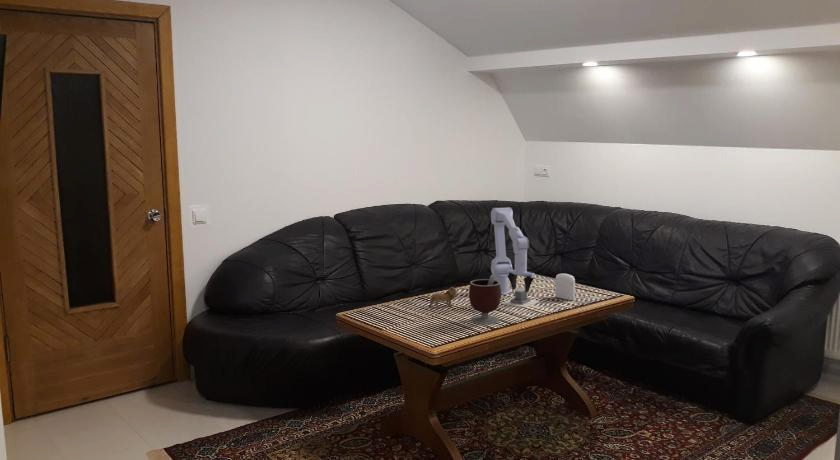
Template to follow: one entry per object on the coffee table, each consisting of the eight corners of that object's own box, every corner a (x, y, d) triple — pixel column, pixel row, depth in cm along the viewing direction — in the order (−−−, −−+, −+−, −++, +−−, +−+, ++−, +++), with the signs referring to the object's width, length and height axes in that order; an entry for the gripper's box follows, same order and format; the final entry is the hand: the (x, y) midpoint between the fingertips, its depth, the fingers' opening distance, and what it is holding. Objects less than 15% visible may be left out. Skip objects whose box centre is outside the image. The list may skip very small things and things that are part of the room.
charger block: (514, 302, 311) (514, 290, 310) (520, 300, 315) (520, 288, 314) (520, 303, 309) (521, 291, 308) (526, 301, 312) (526, 289, 312)
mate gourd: (488, 327, 272) (488, 280, 270) (462, 321, 282) (462, 276, 279) (509, 319, 284) (509, 274, 281) (484, 313, 293) (484, 270, 290)
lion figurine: (453, 303, 312) (453, 285, 311) (458, 306, 307) (458, 287, 306) (426, 307, 306) (425, 288, 305) (430, 309, 301) (430, 291, 300)
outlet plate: (501, 303, 310) (501, 300, 310) (515, 297, 321) (515, 294, 321) (525, 307, 302) (525, 303, 302) (539, 301, 313) (539, 297, 313)
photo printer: (553, 297, 322) (554, 272, 320) (559, 295, 324) (559, 271, 322) (570, 301, 314) (571, 276, 312) (576, 299, 316) (576, 274, 315)
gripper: (538, 263, 307) (537, 291, 309) (513, 259, 317) (512, 286, 319) (530, 265, 302) (529, 293, 304) (504, 261, 311) (504, 289, 313)
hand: (520, 290), depth 311 cm, fingers open, 7 cm apart
